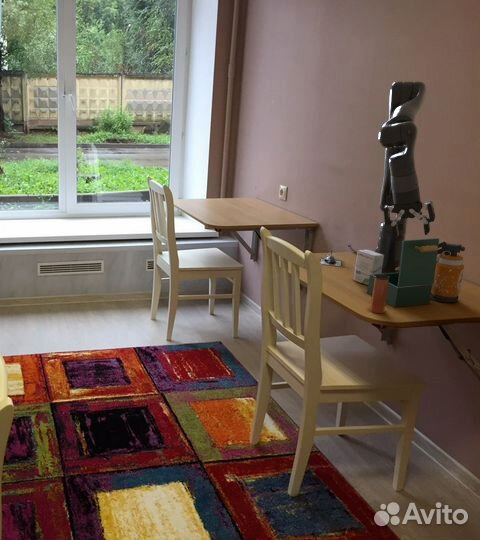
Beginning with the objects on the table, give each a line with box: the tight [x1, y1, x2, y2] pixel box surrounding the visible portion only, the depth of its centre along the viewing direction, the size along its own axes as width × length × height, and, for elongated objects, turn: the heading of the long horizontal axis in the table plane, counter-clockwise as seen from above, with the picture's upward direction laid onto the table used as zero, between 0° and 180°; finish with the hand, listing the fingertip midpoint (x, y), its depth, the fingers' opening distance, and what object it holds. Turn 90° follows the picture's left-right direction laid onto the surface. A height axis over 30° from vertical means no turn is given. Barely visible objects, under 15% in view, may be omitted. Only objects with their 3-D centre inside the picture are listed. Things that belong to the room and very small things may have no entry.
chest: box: [366, 272, 432, 308], centre depth 209 cm, size 15×14×7 cm
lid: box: [398, 237, 440, 287], centre depth 197 cm, size 15×14×5 cm
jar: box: [369, 274, 390, 314], centre depth 196 cm, size 4×4×12 cm
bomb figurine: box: [320, 249, 342, 267], centre depth 249 cm, size 8×8×6 cm
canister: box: [430, 241, 466, 303], centre depth 206 cm, size 9×11×20 cm
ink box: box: [353, 249, 384, 286], centre depth 223 cm, size 8×5×12 cm, turn 25°
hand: (411, 234), depth 191 cm, fingers open, 8 cm apart
